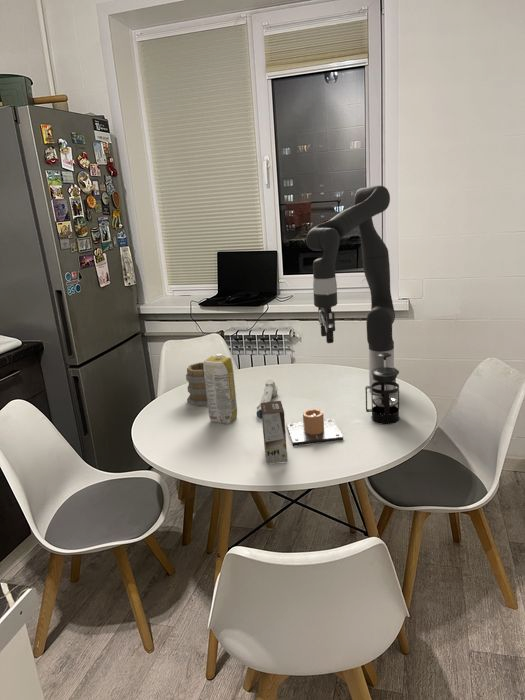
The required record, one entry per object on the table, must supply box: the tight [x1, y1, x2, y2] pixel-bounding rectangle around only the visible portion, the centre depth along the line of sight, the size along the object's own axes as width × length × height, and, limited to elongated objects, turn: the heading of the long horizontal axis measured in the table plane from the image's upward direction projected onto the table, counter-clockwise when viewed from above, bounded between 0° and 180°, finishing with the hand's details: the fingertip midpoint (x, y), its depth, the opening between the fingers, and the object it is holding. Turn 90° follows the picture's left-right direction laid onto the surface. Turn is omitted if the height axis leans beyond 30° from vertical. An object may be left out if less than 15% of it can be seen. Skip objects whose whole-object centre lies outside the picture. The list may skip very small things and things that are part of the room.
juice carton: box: [202, 353, 238, 425], centre depth 182 cm, size 9×8×24 cm
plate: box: [286, 414, 344, 447], centre depth 168 cm, size 16×14×6 cm
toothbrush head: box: [256, 379, 279, 420], centre depth 195 cm, size 5×7×25 cm
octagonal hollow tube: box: [302, 408, 325, 435], centre depth 168 cm, size 6×6×7 cm
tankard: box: [185, 355, 226, 407], centre depth 205 cm, size 20×13×15 cm, turn 129°
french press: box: [364, 353, 401, 425], centre depth 173 cm, size 12×9×23 cm
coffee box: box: [261, 400, 288, 465], centre depth 155 cm, size 9×6×16 cm
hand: (327, 339), depth 172 cm, fingers open, 8 cm apart
